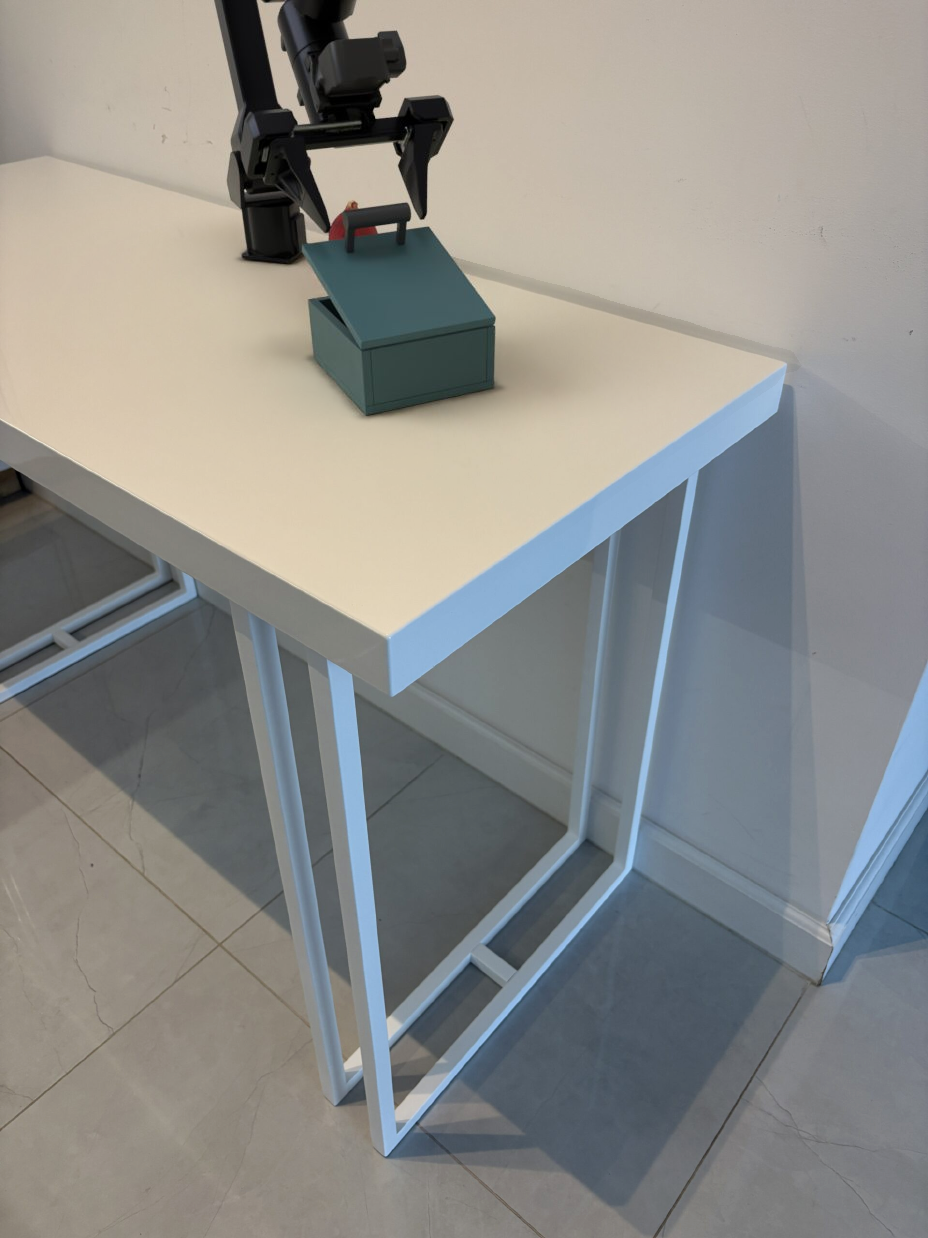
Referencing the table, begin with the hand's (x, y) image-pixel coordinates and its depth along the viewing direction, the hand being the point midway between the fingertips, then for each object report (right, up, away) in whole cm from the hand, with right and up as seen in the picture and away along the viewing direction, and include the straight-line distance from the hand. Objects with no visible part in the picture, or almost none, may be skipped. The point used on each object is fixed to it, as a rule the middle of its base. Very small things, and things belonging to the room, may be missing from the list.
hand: (376, 223), depth 83 cm
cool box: (+2, -12, +5) cm, 13 cm away
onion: (-5, +5, +27) cm, 28 cm away
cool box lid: (+2, -6, 0) cm, 6 cm away
